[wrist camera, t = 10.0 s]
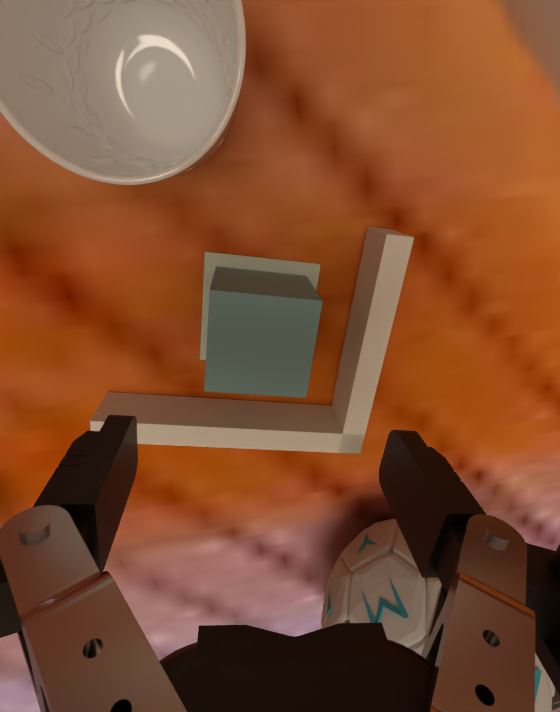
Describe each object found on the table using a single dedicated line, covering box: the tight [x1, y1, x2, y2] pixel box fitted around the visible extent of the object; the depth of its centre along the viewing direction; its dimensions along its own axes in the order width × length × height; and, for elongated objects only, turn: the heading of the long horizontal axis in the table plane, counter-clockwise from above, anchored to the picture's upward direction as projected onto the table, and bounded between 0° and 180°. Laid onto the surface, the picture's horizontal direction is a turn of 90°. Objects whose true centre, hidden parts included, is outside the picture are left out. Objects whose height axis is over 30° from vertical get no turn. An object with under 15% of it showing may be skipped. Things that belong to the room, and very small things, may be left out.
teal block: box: [204, 266, 323, 398], centre depth 23 cm, size 6×6×6 cm
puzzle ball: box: [321, 519, 555, 712], centre depth 28 cm, size 15×15×15 cm
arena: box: [90, 226, 414, 454], centre depth 24 cm, size 17×14×4 cm
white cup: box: [0, 0, 246, 185], centre depth 16 cm, size 8×8×10 cm
